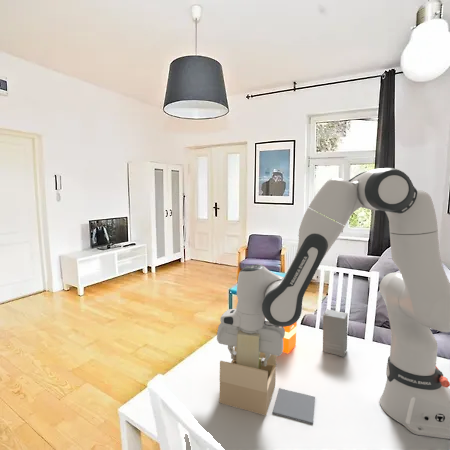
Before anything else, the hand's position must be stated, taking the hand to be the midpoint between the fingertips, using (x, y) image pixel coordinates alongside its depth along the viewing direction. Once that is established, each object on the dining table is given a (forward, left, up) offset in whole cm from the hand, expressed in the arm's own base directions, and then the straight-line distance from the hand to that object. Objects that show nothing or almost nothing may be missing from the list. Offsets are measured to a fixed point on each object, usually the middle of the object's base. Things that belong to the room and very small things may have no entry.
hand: (248, 361), depth 91 cm
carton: (0, 0, -11) cm, 11 cm away
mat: (-14, 0, -11) cm, 18 cm away
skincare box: (-25, -37, -11) cm, 46 cm away
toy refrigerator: (0, 0, -11) cm, 11 cm away
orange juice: (-5, -33, -11) cm, 35 cm away
